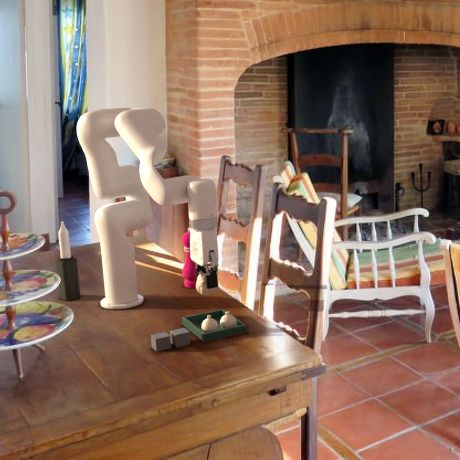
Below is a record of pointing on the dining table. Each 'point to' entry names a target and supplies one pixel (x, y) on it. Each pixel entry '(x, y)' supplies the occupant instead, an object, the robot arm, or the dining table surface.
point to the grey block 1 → (161, 341)
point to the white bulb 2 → (227, 321)
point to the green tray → (196, 327)
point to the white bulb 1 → (209, 325)
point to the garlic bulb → (203, 285)
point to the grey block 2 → (180, 337)
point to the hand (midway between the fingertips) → (207, 284)
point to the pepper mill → (188, 263)
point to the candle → (67, 268)
